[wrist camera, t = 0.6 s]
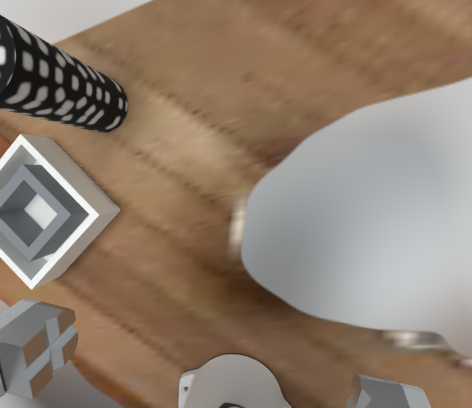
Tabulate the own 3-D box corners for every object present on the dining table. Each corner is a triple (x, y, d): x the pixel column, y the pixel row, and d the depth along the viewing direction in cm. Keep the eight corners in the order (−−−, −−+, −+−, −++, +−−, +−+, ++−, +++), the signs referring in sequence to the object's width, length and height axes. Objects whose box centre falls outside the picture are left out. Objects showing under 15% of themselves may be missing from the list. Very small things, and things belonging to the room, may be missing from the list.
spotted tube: (126, 134, 46) (16, 104, 27) (76, 130, 47) (-65, 100, 28) (129, 78, 46) (16, 5, 26) (78, 76, 47) (-68, 4, 27)
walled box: (121, 209, 48) (99, 215, 42) (60, 276, 50) (31, 289, 44) (51, 138, 48) (20, 133, 42) (-5, 208, 51) (-43, 212, 45)
